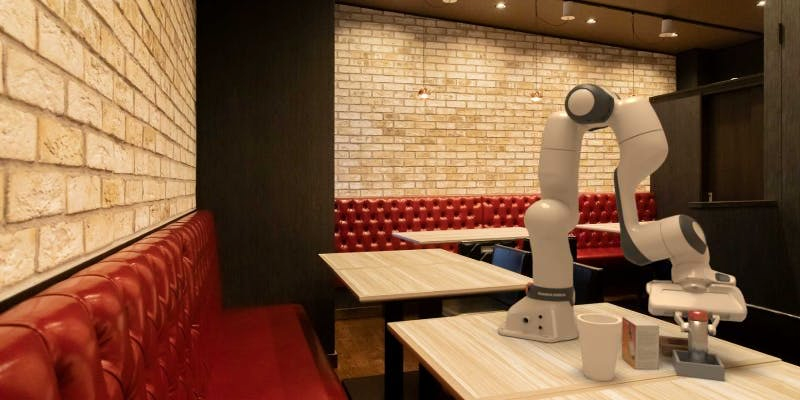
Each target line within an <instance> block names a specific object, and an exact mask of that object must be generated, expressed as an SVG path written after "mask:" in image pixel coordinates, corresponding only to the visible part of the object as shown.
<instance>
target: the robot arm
mask: <svg viewBox="0 0 800 400" xmlns="http://www.w3.org/2000/svg"><path fill="white" fill-rule="evenodd" d="M662 126H663V125H662V124H661V121H660V119H659V117H658V115H657V113H656V111H655V109H654V107H653V106H652V105H651V103H650V101H649V100H648V99H647V98H646V97H644V96H640V95H635V96H633V95H632V96H629V97H624V98H623V99H622V98H621V97H620V96H619V94H617V93H616V92H614V91H612V90H611V89H609V88H607V87H605V86H602V85H598V84H595V83H582V84H578V85H576V86H574V87H573V88H572V89H571V90H570V91H569V92H568V93H567V94H566V97H565V99H564V110H558V111H555V112H552V113H551V114H549V116H548V117H547V119H546V122H545V125H544V127H543V128H544V129H543V132H542V136H541V141H540V142H541V143H540V151H539V158H538V169H537V170H538V171H537V179H538V183H539V187H540V200H537V201H535V202H534V203H533V204H531V205H530V206H529V207H528V208H527V209H526V211H525V213H524V216H523V223H524V226H525V229H526V231H527V233H528V238H529V243H530V244H529V245H530V249H531V255H532V282H531V281H530V282H527V283H526V285H525V295H526V296H524V297H523V298H522V299H519V301H517V302H515V304H513V305H512V306H510V308H509V309H508V310H507V314H506V318H505V321H503V322H501V323H500V324H499V325H498V329H497V331H498V334H500V335H501V336H502V335H503V336H507V337H512V338H513V337H514V338H519V339H524V340H525V339H526V340H530V341H536V342H537V341H538V342H542V343H543V342H544V343H556V342H559V341H560V342H561V341H570V340H574V339H576V338H579V331H578V328H577V321H576V318H575V311H574V309H575V308H574V306H575V303H576V291H575V286H574V280H573V279H574V276H573V275H574V258H573V255H572V251H571V248H570V242H569V235H568V234H569V233H571V232H572V231H573V230H574V229H575V228H576V227H577V225H578V223H579V222H580V218H581V217H580V210H579V208H580V207H579V171H580V162H581V156H582V155H581V153H582V143H583V138H584V136H585V134H586V133H587V132H594V131H598V130H599V131H600V130H602V129H606V128H610V129H611V130H612V131H613V134H614V136H615V139H616V142H617V145H618V149H619V162H618V166H617V167H615V168H614V171H613V186H614V194H615V195H614V197H615V202H616V207H617V208H616V209H617V216H618V224H619V232H620V234H619V235H620V236H619V237H620V248H621V252H622V255H623V256H624V258H625V259H626V260H627V261H629V262H630V263H632V264H635V265H637V266H639V267H641V266H645V265H648V264H651V263H654V262H657V261H662V260H666V259H670V262H671V265H672V267H671V273H670V274H671V280H659V279H652V281H649V282H647V283H646V285H645V290H646V293H647V294H648V295H649V297H648V305H647V307H648V310H647V311H648V312H649V313H650V315H652V316H662V317H663V316H664V317H674V321H675V323H677V324H678V326H679V327H680V333H683V334H684V333H687V334H688V331H689V327H688V326H689V325H688V322H685V321H684V319H683V318H687V319H688V310H689V309H699V310H706V311H708V320H711V323H712V324H708V336H709V335H710V336H716V334H717V330H716V329H717V327H718V324H719V323H720V321H726V322H727V321H728V322H729V321H730V322H738V323H739V322H741V323H742V322H743V321H744V320H745V319H746V318H747V314H748V309H747V304H746V301H745V298H744V295H743V293H742V291H741V290H740V288H738V287H737V286H736V285H737V279H736V277H735V276H733V275H730V274H726V273H724V272H719V271H716V270H714V269H712V268H711V266H710V251H709V246H708V242H707V236H706V233H705V231H704V229H703V226H702V225H701V224H700V223H699V222H698V221H697V220H696V219H694V218H692V217H691V216H688V215H685V214H682V213H681V214H678V215H672V216H669V217H665V218H662V219H659V220H654V221H651V222H648V223H644V224H640V222H639V216H638V208H637V203H636V191H637V188H638V187H639V185H640V184H641V183H642V182H643V181H644V180H645V179H646V178H648V177H649V176H650V175H652V174H653V173H654V172H656V171H657V170H658V169H659V168H660V167H661V166H662V164H664V162H665V161H666V159H667V156H668V153H669V145H668V141H667V137H666V135H665V131H664V128H663V127H662Z"/></svg>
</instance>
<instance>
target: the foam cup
mask: <svg viewBox="0 0 800 400" xmlns="http://www.w3.org/2000/svg"><path fill="white" fill-rule="evenodd" d="M576 327H577V331H578V334H579V336H578V338H579V345H580V354H581V361H582V368H583V375H585V376H584V377H586V378H587V377H588V378H587V379H590V380H593V381H598V382H608V381H609V382H610V381H612V380H613V379H614V378H615V374H616V365H617V359H618V355H619V354H618V352H619V347H620V346H619V345H620V339H621V335H622V318H619V317H617V316H614V315H611V314H610V315H609V314H605V313H604V314H603V313H589V312H588V313H582V314H581V313H580V314H578V315H577V316H576Z"/></svg>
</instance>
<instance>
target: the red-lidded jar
mask: <svg viewBox="0 0 800 400" xmlns="http://www.w3.org/2000/svg"><path fill="white" fill-rule="evenodd" d="M687 323H688V325H689V326H688V327H689V331H688V333H687V338H688V362H690V363H699V364H708V353H709V335H708V325H709V319H708V311H706V310H699V309H689V310H688V318H687Z"/></svg>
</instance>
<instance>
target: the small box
mask: <svg viewBox="0 0 800 400" xmlns="http://www.w3.org/2000/svg"><path fill="white" fill-rule="evenodd" d="M621 321H622V332H621V358H622V359H623V360H624V361H626V362H627V363H628V364H629V365H630V366H631V367H633V369H635V370H658V369H659V362H660V361H659V357H660V356H659V353H660V347H659V336H660V325H659V324H657V323H655V322H653V321H652V320H650V319H648V318H647V317H646V316H622V317H621Z"/></svg>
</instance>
